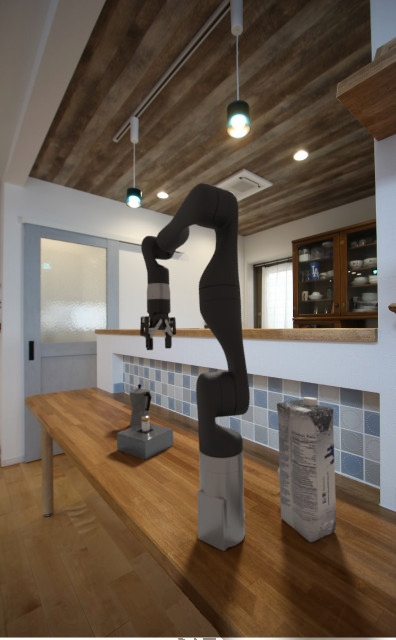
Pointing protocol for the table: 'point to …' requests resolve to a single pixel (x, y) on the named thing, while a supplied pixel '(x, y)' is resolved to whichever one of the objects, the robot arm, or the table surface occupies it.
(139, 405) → the coffeepot
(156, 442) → the bore block
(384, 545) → the table surface
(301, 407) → the juice carton
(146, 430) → the cylinder
